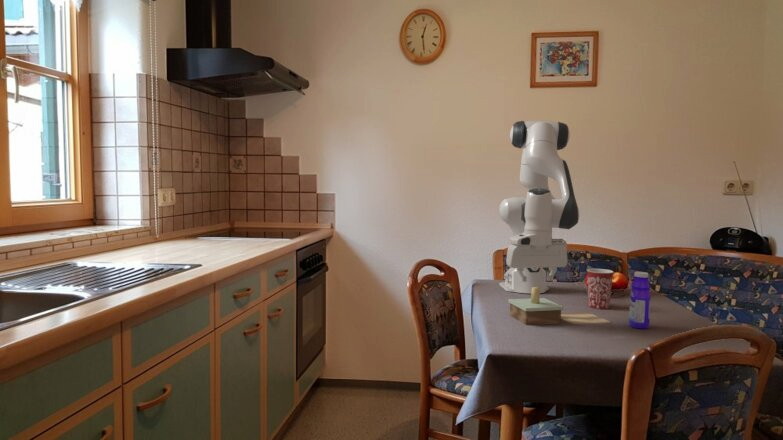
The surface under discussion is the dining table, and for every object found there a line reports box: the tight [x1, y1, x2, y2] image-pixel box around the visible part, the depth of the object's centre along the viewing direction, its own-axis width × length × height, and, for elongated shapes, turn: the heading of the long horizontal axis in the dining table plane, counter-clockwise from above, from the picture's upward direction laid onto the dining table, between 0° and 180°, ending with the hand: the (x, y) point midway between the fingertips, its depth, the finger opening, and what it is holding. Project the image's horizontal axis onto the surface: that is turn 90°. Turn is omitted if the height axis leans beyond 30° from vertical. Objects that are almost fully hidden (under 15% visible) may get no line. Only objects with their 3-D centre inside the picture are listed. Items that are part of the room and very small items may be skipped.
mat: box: [561, 311, 613, 325], centre depth 185 cm, size 14×14×1 cm
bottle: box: [628, 271, 652, 329], centre depth 176 cm, size 7×6×17 cm
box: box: [509, 303, 562, 326], centre depth 182 cm, size 12×12×5 cm
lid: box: [507, 287, 564, 311], centre depth 182 cm, size 13×13×6 cm
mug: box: [587, 268, 615, 310], centre depth 205 cm, size 13×9×14 cm
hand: (536, 281), depth 181 cm, fingers open, 8 cm apart
